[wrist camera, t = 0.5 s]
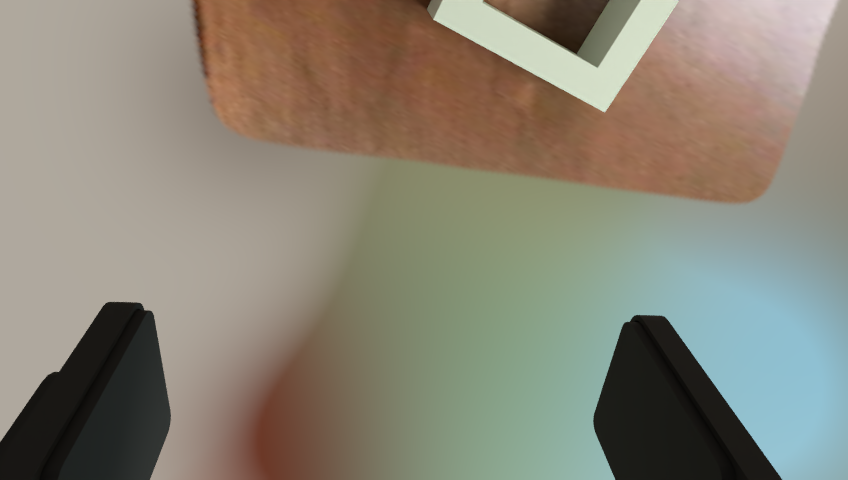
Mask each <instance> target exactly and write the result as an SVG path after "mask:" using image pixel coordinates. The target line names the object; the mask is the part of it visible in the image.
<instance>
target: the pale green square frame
mask: <svg viewBox="0 0 848 480" xmlns="http://www.w3.org/2000/svg"><path fill="white" fill-rule="evenodd" d="M678 1H679V0H609V2H608V3H607V5H606V7H605V8H604V10H603V12H602V13H601V15H600V17H599V18H598V20H597V21H596V23H595V25H594V26H593V28H592V30H591V31H590V33H589V34H588V36H587V38H586V39H585V41H584V43H583V44H582V46H581V48H580V49H579V51H578V52H577V54H576V53H574V52H572V51H570V50H569V49H567V48H565V47H563V46H562V45H560V44H558V43H556V42H555V41H553V40H551V39H549V38H547V37H546V36H544V35H542V34H540V33H539V32H537V31H535V30H533V29H532V28H530V27H528V26H526V25H525V24H523V23H521V22H519V21H518V20H516V19H514V18H512V17H510V16H509V15H507V14H505V13H503V12H502V11H500V10H498V9H496V8H495V7H493V6H491V5H489V4H488V3H486V2H484V1H483V0H431V2H430V4H429V6H428V8H427V11H428V12H429V14H430V15H431V17H432V18H433V20H435V21H437V22H439V23H441V24H442V25H444V26H446V27H448V28H450V29H452V30H454V31H455V32H457V33H459V34H461V35H463V36H465V37H466V38H468V39H470V40H472V41H474V42H476V43H478V44H479V45H481V46H483V47H485V48H487V49H489V50H490V51H492V52H494V53H496V54H498V55H500V56H502V57H503V58H505V59H507V60H509V61H511V62H513V63H514V64H516V65H518V66H520V67H522V68H524V69H526V70H527V71H529V72H531V73H533V74H535V75H537V76H538V77H540V78H542V79H544V80H546V81H548V82H550V83H551V84H553V85H555V86H557V87H559V88H561V89H563V90H564V91H566V92H568V93H570V94H572V95H574V96H575V97H577V98H579V99H581V100H583V101H585V102H587V103H588V104H590V105H592V106H594V107H596V108H598V109H599V110H601V111H603V112H605V111H606V110H607V108H608V107H609V105H610V104H611V102H612V101H613V99H614V98H615V96H616V95H617V93H618V92H619V90H620V89H621V87H622V86H623V84H624V83H625V81H626V80H627V78H628V77H629V75H630V74H631V72H632V71H633V69H634V68H635V66H636V65H637V63H638V62H639V60H640V59H641V57H642V56H643V54H644V53H645V51H646V50H647V48H648V47H649V45H650V44H651V42H652V40H653V39H654V37H655V36H656V34H657V33H658V31H659V30H660V28H661V27H662V25H663V24H664V22H665V21H666V19H667V18H668V16H669V15H670V13H671V12H672V10H673V9H674V7H675V6H676V4H677V3H678Z"/></svg>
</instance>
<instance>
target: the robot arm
mask: <svg viewBox="0 0 848 480" xmlns="http://www.w3.org/2000/svg"><path fill="white" fill-rule="evenodd" d="M170 417H171V414H170V406H169V401H168V395H167V389H166V383H165V378H164V372H163V367H162V361H161V355H160V349H159V343H158V337H157V331H156V326H155V320H154V315H153V313H152V311H144V308H143V306H142V304H141V303H131V302H108V303H106V304H105V305H104V306H103V307H102V309H101V310H100V312H99V313H98V315H97V316H96V318H95V319H94V321H93V322H92V324H91V325H90V327H89V328H88V330H87V331H86V333H85V334H84V336H83V337H82V339H81V340H80V342H79V343H78V345H77V346H76V348H75V349H74V351H73V352H72V354H71V355H70V357H69V358H68V360H67V361H66V363H65V364H64V366H63V367H62V369H61V370H60V371H59V372H53V373H51V374H49V375H48V376H47V377H46V378H45V379H44V380H43V381H42V383H41V384H40V386H39V387H38V388H37V390H36V391H35V393H34V394H33V396H32V397H31V399H30V400H29V402H28V403H27V404H26V406H25V407H24V409H23V410H22V412H21V413H20V414H19V416H18V417H17V419H16V420H15V422H14V423H13V425H12V426H11V428H10V429H9V430H8V432H7V433H6V435H5V436H4V438H3V439H2V441H1V442H0V480H150V478H151V475H152V472H153V470H154V467H155V465H156V462H157V460H158V457H159V454H160V452H161V449H162V447H163V444H164V441H165V439H166V436H167V434H168V431H169V427H170V419H171V418H170ZM593 422H594V429H595V432H596V435H597V437H598V440H599V442H600V444H601V447H602V449H603V451H604V454H605V456H606V459H607V461H608V463H609V466H610V468H611V470H612V473H613V475H614V477H615V480H782V479H781V477H780V476H779V475H778V473H777V472H776V470H775V469H774V468H773V466H772V465H771V463H770V462H769V461H768V460H767V458H766V456H765V455H764V454H763V452H762V451H761V449H760V448H759V447H758V445H757V444H756V443H755V441H754V440H753V438H752V437H751V435H750V434H749V433H748V431H747V430H746V429H745V427H744V426H743V424H742V423H741V422H740V420H739V419H738V417H737V416H736V415H735V413H734V412H733V410H732V409H731V408H730V407H729V405H728V403H727V402H726V401H725V399H724V398H723V397H722V395H721V394H720V392H719V391H718V389H717V388H716V387H715V385H714V384H713V382H712V381H711V380H710V378H709V377H708V376H707V374H706V373H705V371H704V370H703V369H702V367H701V366H700V364H699V363H698V362H697V360H696V359H695V357H694V356H693V355H692V353H691V352H690V350H689V349H688V348H687V346H686V345H685V343H684V342H683V341H682V339H681V338H680V336H679V335H678V334H677V332H676V331H675V330H674V328H673V327H672V325H671V324H670V323H669V321H668V320H667V319H666V318H665V317H663V316H650V315H648V316H647V315H636V316H634V317H633V318H632V319H631V321H630V322H626V323H624V325H623V327H622V329H621V333H620V336H619V339H618V342H617V345H616V348H615V351H614V355H613V357H612V360H611V363H610V367H609V370H608V373H607V376H606V379H605V382H604V385H603V388H602V391H601V395H600V398H599V401H598V404H597V407H596V410H595V413H594V420H593Z"/></svg>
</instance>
